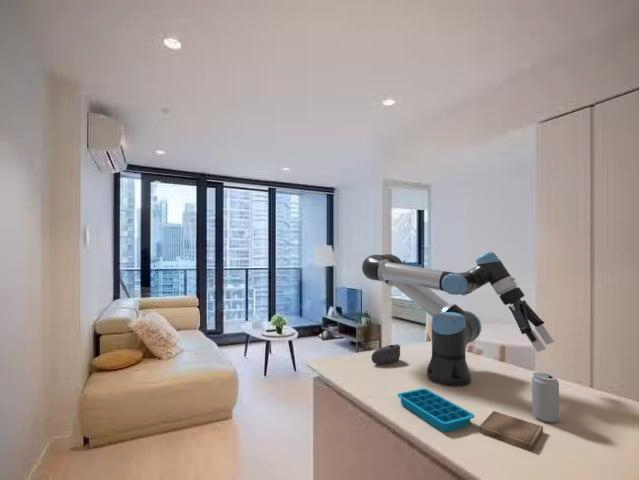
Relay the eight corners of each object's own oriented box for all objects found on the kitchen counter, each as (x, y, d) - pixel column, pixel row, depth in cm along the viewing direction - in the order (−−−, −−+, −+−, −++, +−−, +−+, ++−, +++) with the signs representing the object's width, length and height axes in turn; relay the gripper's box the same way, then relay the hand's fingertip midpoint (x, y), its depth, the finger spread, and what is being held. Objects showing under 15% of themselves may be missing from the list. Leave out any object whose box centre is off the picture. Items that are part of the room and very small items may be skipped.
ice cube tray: (424, 397, 110) (424, 387, 110) (476, 427, 92) (476, 415, 92) (395, 403, 106) (395, 393, 106) (444, 436, 87) (444, 424, 87)
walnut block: (479, 432, 89) (479, 425, 89) (493, 416, 97) (493, 410, 97) (532, 451, 80) (532, 444, 80) (543, 432, 89) (543, 425, 89)
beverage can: (564, 425, 92) (563, 380, 93) (537, 422, 94) (537, 378, 94) (552, 414, 99) (552, 372, 99) (528, 412, 100) (528, 370, 100)
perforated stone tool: (375, 367, 137) (375, 350, 137) (367, 363, 142) (367, 346, 142) (404, 362, 143) (404, 345, 144) (396, 358, 148) (396, 342, 148)
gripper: (507, 288, 113) (549, 349, 105) (526, 284, 131) (564, 336, 123) (487, 298, 118) (526, 358, 109) (508, 293, 135) (543, 344, 127)
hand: (546, 346), depth 116 cm, fingers open, 13 cm apart
